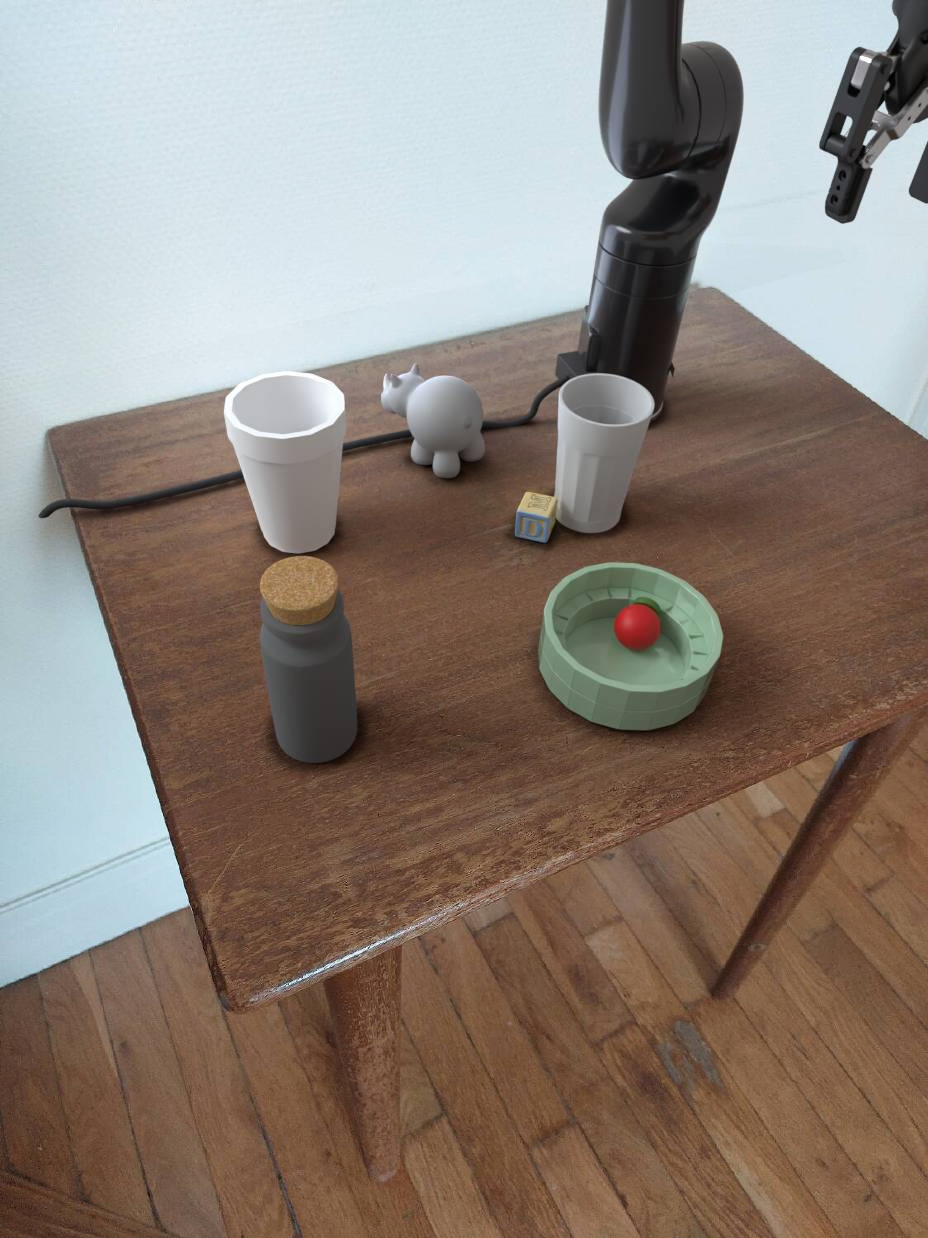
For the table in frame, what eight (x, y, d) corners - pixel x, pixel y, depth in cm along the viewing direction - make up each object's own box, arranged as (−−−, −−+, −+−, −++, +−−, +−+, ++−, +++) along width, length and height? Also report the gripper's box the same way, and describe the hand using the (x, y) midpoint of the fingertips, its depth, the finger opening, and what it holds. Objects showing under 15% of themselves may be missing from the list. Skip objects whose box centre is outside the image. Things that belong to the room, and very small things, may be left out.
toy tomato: (621, 624, 68) (640, 584, 70) (599, 639, 71) (618, 601, 73) (660, 650, 69) (677, 609, 71) (636, 664, 72) (654, 625, 74)
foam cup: (277, 486, 85) (261, 361, 75) (369, 510, 83) (363, 385, 73) (226, 549, 78) (201, 421, 69) (323, 577, 76) (311, 450, 67)
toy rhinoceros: (413, 408, 95) (413, 333, 88) (496, 460, 89) (502, 383, 83) (360, 434, 91) (356, 358, 85) (443, 490, 85) (445, 413, 79)
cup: (640, 499, 86) (666, 388, 77) (613, 549, 81) (638, 436, 72) (561, 474, 88) (578, 364, 79) (530, 522, 83) (544, 409, 74)
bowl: (543, 732, 66) (550, 689, 63) (533, 603, 75) (539, 559, 72) (721, 737, 67) (739, 694, 63) (690, 608, 76) (704, 564, 72)
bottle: (278, 700, 67) (253, 549, 56) (357, 697, 68) (348, 547, 57) (273, 766, 63) (246, 617, 52) (358, 762, 64) (347, 615, 53)
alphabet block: (513, 536, 81) (516, 510, 79) (522, 515, 83) (525, 489, 81) (546, 544, 81) (550, 518, 78) (554, 523, 83) (558, 497, 81)
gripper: (1010, -89, 58) (908, 175, 70) (852, -80, 53) (770, 204, 65) (1117, -65, 54) (988, 213, 65) (956, -51, 48) (847, 248, 60)
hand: (880, 208), depth 65 cm, fingers open, 8 cm apart
